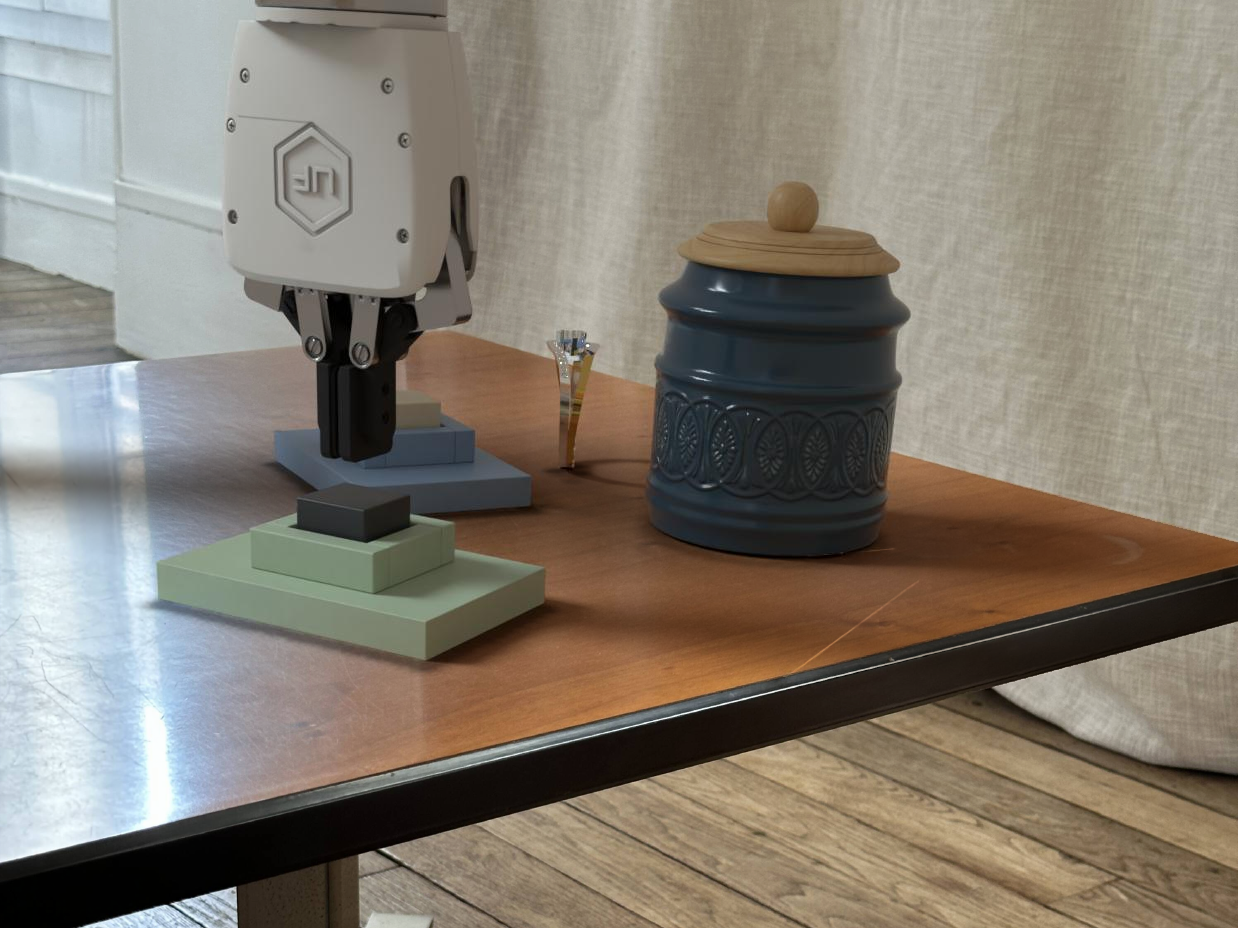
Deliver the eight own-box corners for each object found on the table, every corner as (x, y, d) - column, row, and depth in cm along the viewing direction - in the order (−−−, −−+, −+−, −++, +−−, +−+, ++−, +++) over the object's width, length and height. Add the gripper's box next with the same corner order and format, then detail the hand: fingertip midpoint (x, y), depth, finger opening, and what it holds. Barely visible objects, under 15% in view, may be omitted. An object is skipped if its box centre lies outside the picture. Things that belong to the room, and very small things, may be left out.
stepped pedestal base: (157, 598, 78) (153, 521, 76) (294, 550, 86) (293, 479, 84) (425, 661, 72) (426, 578, 71) (544, 603, 80) (547, 528, 79)
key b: (356, 423, 99) (356, 391, 98) (416, 420, 100) (416, 389, 100) (380, 436, 96) (380, 404, 95) (441, 433, 98) (441, 401, 97)
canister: (899, 568, 89) (945, 200, 82) (644, 553, 89) (668, 183, 81) (867, 505, 101) (906, 179, 94) (642, 492, 101) (663, 164, 93)
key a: (296, 535, 77) (295, 496, 76) (344, 519, 80) (344, 481, 79) (364, 550, 75) (364, 510, 75) (410, 532, 78) (411, 494, 78)
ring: (545, 453, 108) (551, 320, 105) (597, 456, 108) (604, 323, 105) (534, 479, 102) (540, 338, 99) (589, 482, 102) (597, 342, 99)
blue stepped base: (274, 459, 103) (272, 399, 101) (432, 450, 107) (433, 392, 106) (358, 519, 92) (357, 452, 90) (531, 506, 96) (533, 442, 95)
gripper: (137, -26, 68) (163, 445, 76) (465, -11, 63) (458, 497, 70) (257, -16, 75) (270, 418, 82) (565, -2, 69) (549, 465, 76)
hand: (357, 453), depth 76 cm, fingers closed
